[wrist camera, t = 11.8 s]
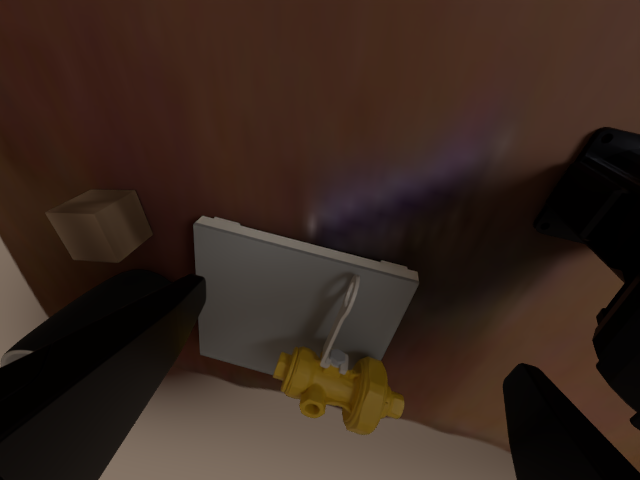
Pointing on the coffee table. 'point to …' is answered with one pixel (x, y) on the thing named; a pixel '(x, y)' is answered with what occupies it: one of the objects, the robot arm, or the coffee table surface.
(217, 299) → the stand
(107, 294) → the mug
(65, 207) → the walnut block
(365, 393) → the pressure relief valve
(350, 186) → the coffee table surface
